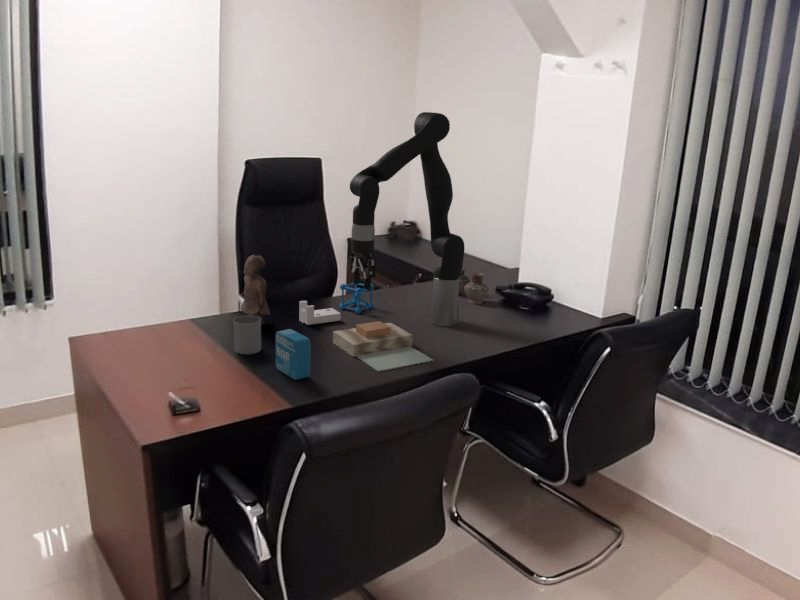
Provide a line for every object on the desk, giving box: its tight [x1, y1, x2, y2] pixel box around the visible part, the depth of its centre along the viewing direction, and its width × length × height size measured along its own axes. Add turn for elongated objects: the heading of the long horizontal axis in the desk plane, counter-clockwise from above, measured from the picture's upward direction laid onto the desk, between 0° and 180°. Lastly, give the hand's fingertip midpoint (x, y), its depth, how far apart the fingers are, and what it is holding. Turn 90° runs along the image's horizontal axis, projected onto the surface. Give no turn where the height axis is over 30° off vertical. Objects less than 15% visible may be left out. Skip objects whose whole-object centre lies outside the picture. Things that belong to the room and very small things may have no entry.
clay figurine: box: [240, 254, 271, 326], centre depth 237 cm, size 13×10×25 cm
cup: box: [232, 314, 262, 355], centre depth 215 cm, size 8×8×10 cm
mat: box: [356, 346, 435, 373], centre depth 214 cm, size 20×14×1 cm
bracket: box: [298, 300, 342, 326], centre depth 246 cm, size 13×7×8 cm, turn 121°
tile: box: [355, 320, 391, 338], centre depth 224 cm, size 9×7×2 cm
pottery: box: [458, 267, 489, 305], centre depth 283 cm, size 11×25×12 cm, turn 30°
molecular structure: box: [339, 282, 375, 314], centre depth 262 cm, size 10×10×10 cm
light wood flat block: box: [332, 322, 414, 357], centre depth 225 cm, size 22×14×4 cm, turn 122°
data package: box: [275, 328, 312, 381], centre depth 198 cm, size 12×4×12 cm, turn 41°
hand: (361, 286), depth 228 cm, fingers open, 7 cm apart
